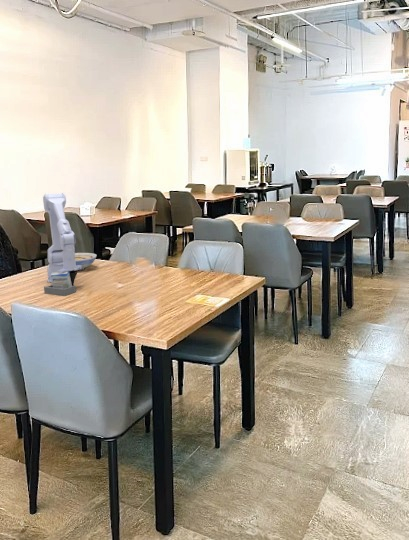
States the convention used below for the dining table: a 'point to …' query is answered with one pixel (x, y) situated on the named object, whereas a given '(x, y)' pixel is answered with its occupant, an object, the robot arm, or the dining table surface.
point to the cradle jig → (59, 290)
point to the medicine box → (61, 280)
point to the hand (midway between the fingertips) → (71, 286)
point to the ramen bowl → (84, 259)
